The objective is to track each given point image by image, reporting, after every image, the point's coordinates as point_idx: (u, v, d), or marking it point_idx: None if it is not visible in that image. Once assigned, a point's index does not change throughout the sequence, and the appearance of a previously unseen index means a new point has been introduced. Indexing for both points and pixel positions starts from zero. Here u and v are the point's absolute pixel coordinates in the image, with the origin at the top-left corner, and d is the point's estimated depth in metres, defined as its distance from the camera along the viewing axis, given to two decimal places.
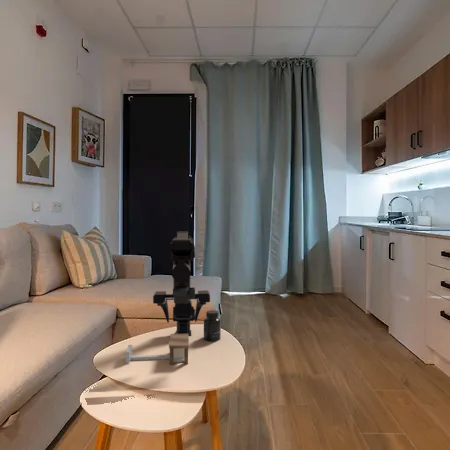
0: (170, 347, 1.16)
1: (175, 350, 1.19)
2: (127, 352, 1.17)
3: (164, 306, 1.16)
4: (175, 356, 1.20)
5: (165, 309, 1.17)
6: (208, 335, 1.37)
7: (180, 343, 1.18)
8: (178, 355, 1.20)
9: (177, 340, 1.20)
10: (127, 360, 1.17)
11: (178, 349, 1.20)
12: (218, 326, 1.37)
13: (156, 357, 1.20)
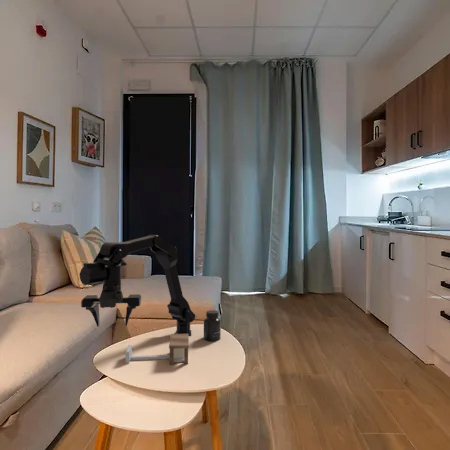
0: (170, 347, 1.16)
1: (175, 350, 1.19)
2: (127, 352, 1.17)
3: (93, 310, 1.15)
4: (175, 356, 1.20)
5: (94, 313, 1.16)
6: (208, 335, 1.37)
7: (180, 343, 1.18)
8: (178, 355, 1.20)
9: (177, 340, 1.20)
10: (127, 360, 1.17)
11: (178, 349, 1.20)
12: (218, 326, 1.37)
13: (156, 357, 1.20)
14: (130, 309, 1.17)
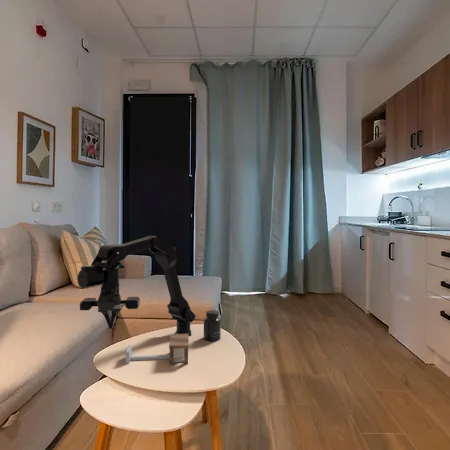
0: (170, 347, 1.16)
1: (175, 350, 1.19)
2: (127, 352, 1.17)
3: (105, 312, 1.16)
4: (175, 356, 1.20)
5: (106, 315, 1.17)
6: (209, 335, 1.37)
7: (180, 343, 1.18)
8: (178, 355, 1.20)
9: (177, 340, 1.20)
10: (127, 360, 1.17)
11: (178, 349, 1.20)
12: (218, 326, 1.37)
13: (156, 357, 1.20)
14: (115, 312, 1.16)
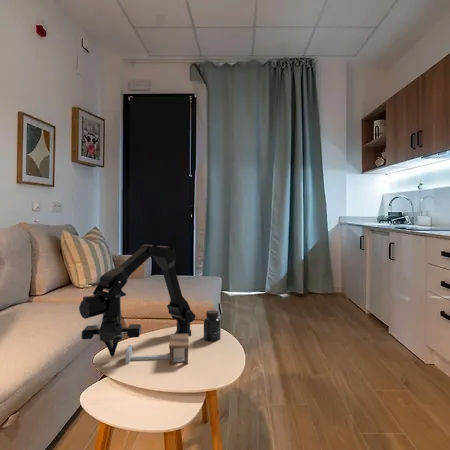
0: (170, 347, 1.16)
1: (175, 350, 1.19)
2: (127, 352, 1.17)
3: (106, 341, 1.17)
4: (175, 356, 1.20)
5: (108, 343, 1.18)
6: (208, 335, 1.37)
7: (180, 343, 1.18)
8: (178, 355, 1.20)
9: (177, 340, 1.20)
10: (127, 360, 1.17)
11: (178, 349, 1.20)
12: (218, 326, 1.37)
13: (156, 357, 1.20)
14: (116, 340, 1.17)
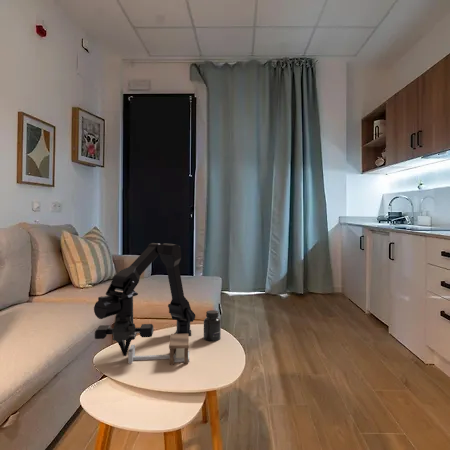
0: (170, 347, 1.16)
1: (178, 350, 1.20)
2: (130, 352, 1.17)
3: (119, 340, 1.17)
4: (178, 356, 1.20)
5: (121, 343, 1.18)
6: (208, 335, 1.37)
7: (180, 343, 1.18)
8: (180, 355, 1.20)
9: (177, 340, 1.20)
10: (130, 360, 1.17)
11: (181, 349, 1.20)
12: (218, 326, 1.37)
13: (159, 357, 1.20)
14: (129, 340, 1.17)
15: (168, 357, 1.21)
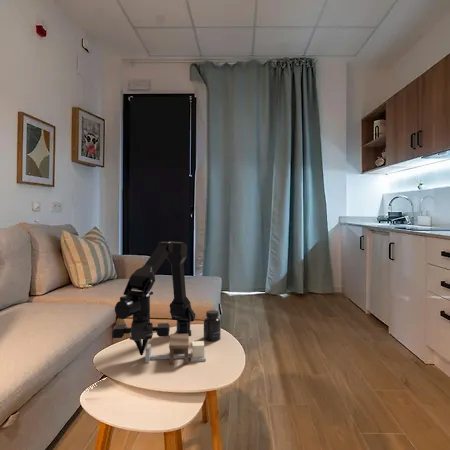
0: (170, 347, 1.16)
1: (194, 349, 1.20)
2: (147, 351, 1.18)
3: (136, 340, 1.18)
4: (194, 355, 1.20)
5: (138, 342, 1.19)
6: (208, 335, 1.37)
7: (180, 343, 1.18)
8: (197, 355, 1.20)
9: (177, 340, 1.20)
10: (147, 359, 1.18)
11: (197, 348, 1.20)
12: (218, 326, 1.37)
13: (175, 356, 1.21)
14: (146, 339, 1.18)
15: None
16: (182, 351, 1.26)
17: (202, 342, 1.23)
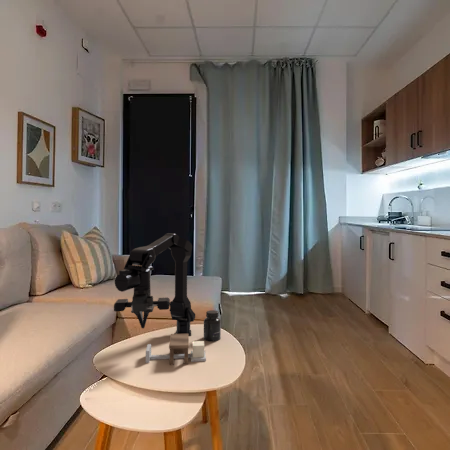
0: (170, 347, 1.16)
1: (194, 349, 1.20)
2: (147, 351, 1.18)
3: (138, 313, 1.21)
4: (194, 355, 1.20)
5: (139, 316, 1.22)
6: (208, 335, 1.37)
7: (180, 343, 1.18)
8: (197, 355, 1.20)
9: (177, 340, 1.20)
10: (147, 359, 1.18)
11: (197, 348, 1.20)
12: (218, 326, 1.37)
13: (175, 356, 1.21)
14: (147, 313, 1.21)
15: None
16: (182, 351, 1.26)
17: (202, 342, 1.23)
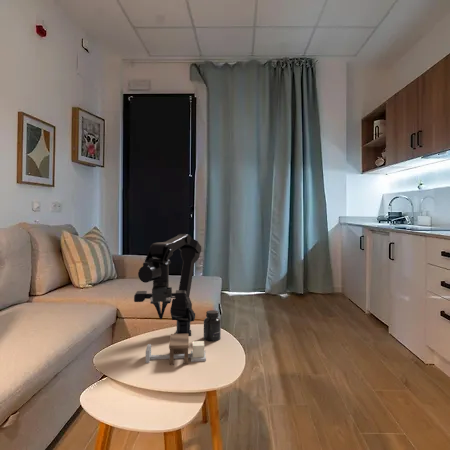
0: (170, 347, 1.16)
1: (194, 349, 1.20)
2: (147, 351, 1.18)
3: (156, 304, 1.28)
4: (194, 355, 1.20)
5: (157, 307, 1.29)
6: (208, 335, 1.37)
7: (180, 343, 1.18)
8: (197, 355, 1.20)
9: (177, 340, 1.20)
10: (147, 359, 1.18)
11: (197, 348, 1.20)
12: (218, 326, 1.37)
13: (175, 356, 1.21)
14: (165, 304, 1.28)
15: None
16: (182, 351, 1.26)
17: (202, 342, 1.23)
